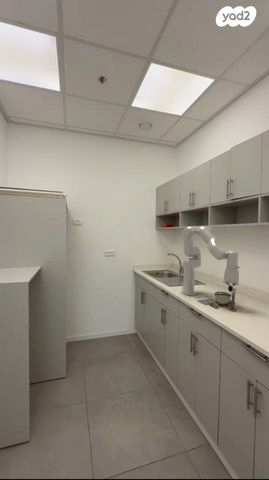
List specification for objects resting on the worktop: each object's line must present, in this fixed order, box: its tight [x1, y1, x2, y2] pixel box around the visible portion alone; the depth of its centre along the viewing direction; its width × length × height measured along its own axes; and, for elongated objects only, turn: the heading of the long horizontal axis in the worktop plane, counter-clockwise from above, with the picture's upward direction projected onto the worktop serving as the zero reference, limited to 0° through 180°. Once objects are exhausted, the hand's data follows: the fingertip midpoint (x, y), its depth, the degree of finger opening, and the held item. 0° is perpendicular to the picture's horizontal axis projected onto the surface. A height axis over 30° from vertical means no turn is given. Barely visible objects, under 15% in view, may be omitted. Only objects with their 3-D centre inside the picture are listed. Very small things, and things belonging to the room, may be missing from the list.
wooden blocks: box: [207, 295, 238, 312], centre depth 169 cm, size 16×19×10 cm
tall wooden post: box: [230, 287, 237, 297], centre depth 169 cm, size 16×3×2 cm, turn 152°
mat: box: [196, 298, 215, 306], centre depth 181 cm, size 10×15×1 cm, turn 113°
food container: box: [213, 291, 232, 308], centre depth 174 cm, size 12×6×10 cm, turn 77°
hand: (230, 291), depth 172 cm, fingers closed
